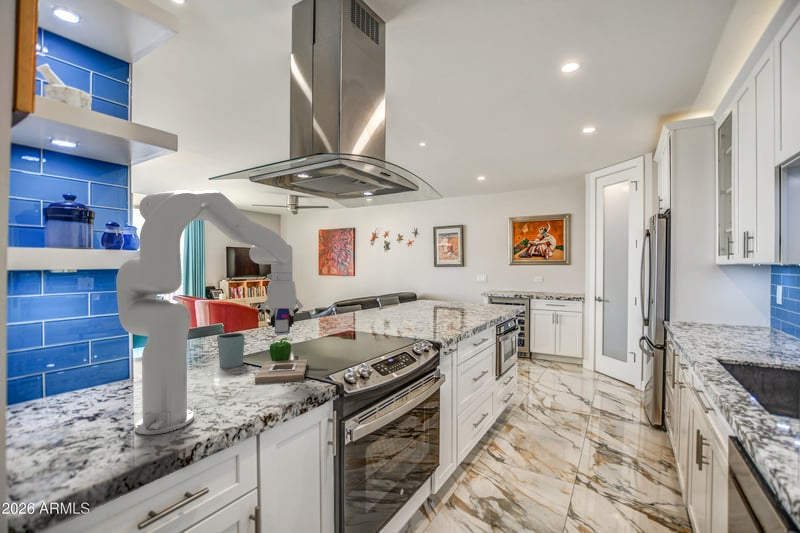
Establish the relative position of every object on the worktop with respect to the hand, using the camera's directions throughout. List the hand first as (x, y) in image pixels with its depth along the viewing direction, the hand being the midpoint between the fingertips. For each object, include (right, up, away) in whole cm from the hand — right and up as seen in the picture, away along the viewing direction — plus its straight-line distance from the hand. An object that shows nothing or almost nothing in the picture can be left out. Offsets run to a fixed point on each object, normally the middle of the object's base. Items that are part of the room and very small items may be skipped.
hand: (282, 326), depth 133 cm
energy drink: (0, -3, 0) cm, 3 cm away
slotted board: (0, -18, 0) cm, 18 cm away
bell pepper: (-6, -18, +15) cm, 24 cm away
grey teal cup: (-24, -18, +11) cm, 32 cm away
